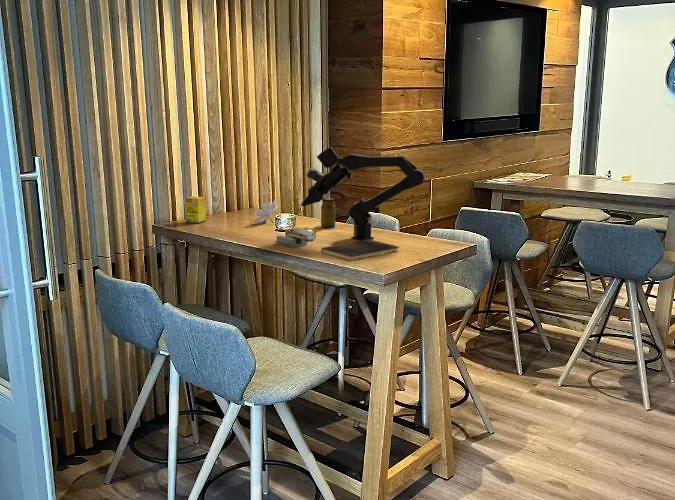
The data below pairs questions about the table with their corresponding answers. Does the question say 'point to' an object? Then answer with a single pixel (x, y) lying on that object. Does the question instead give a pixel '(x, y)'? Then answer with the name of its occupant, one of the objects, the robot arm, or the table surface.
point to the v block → (290, 241)
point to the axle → (306, 233)
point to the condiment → (328, 214)
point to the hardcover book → (359, 249)
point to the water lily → (267, 212)
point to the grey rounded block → (297, 232)
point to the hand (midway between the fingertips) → (304, 203)
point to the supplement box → (195, 210)
